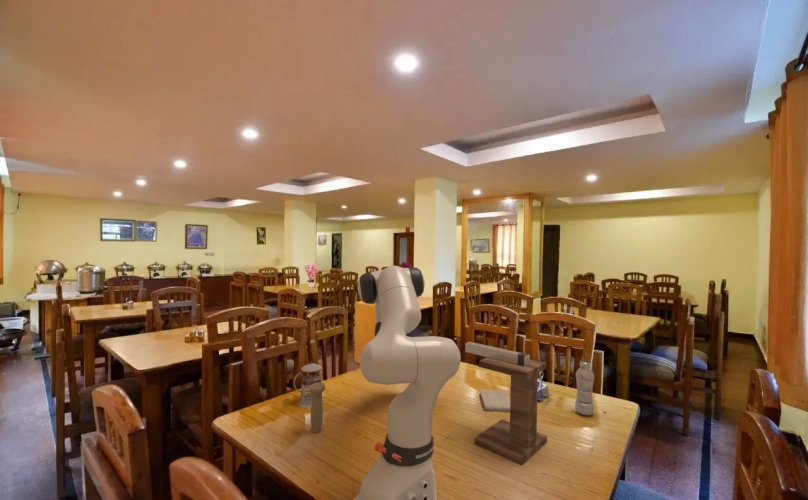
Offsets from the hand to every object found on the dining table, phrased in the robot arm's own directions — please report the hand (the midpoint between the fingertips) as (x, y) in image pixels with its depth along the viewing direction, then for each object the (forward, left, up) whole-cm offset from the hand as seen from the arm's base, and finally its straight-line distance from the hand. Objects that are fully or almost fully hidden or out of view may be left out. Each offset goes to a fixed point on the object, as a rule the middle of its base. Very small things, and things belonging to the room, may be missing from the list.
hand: (446, 347), depth 133 cm
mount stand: (0, -26, -26) cm, 37 cm away
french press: (-30, +45, -26) cm, 60 cm away
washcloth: (+25, -7, -26) cm, 37 cm away
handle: (-40, +24, -26) cm, 53 cm away
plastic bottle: (+40, -36, -26) cm, 60 cm away
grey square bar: (0, -20, 0) cm, 20 cm away
